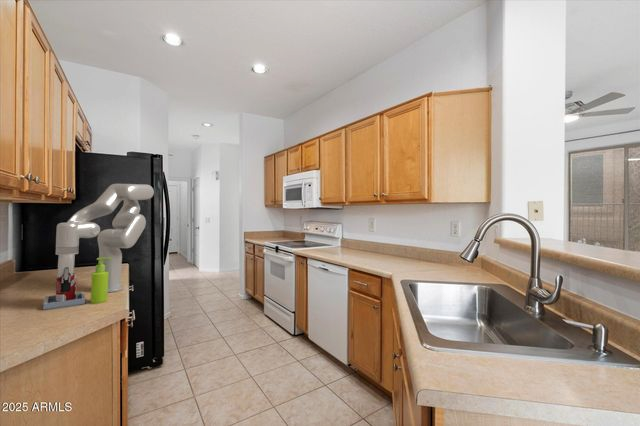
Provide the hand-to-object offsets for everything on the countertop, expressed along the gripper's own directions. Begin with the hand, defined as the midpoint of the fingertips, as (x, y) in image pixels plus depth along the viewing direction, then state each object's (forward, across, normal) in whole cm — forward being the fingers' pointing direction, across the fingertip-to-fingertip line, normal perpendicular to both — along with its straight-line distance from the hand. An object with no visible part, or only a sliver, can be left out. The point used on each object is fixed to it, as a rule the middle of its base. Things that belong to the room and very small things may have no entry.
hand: (65, 289), depth 124 cm
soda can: (+6, -1, 0) cm, 6 cm away
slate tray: (+6, 0, 0) cm, 6 cm away
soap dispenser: (+6, +5, +12) cm, 15 cm away
